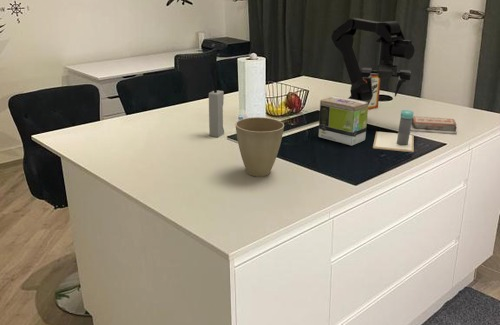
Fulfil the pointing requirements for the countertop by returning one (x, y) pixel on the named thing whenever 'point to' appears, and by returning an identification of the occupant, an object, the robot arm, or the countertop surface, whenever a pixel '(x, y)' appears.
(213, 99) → the vintage mobile phone
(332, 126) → the tea box
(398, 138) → the gray bottle teal cap
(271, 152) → the plant pot
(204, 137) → the countertop surface
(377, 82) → the baking soda box
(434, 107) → the countertop surface
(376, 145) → the notepad
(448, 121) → the packaged product
